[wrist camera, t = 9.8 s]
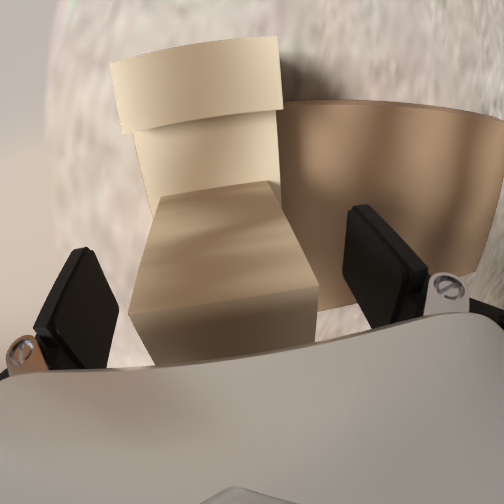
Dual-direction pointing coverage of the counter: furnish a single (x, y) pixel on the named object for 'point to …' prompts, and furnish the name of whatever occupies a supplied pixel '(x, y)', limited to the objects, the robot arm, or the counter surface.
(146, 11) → the counter surface
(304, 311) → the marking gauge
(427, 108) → the walnut board
